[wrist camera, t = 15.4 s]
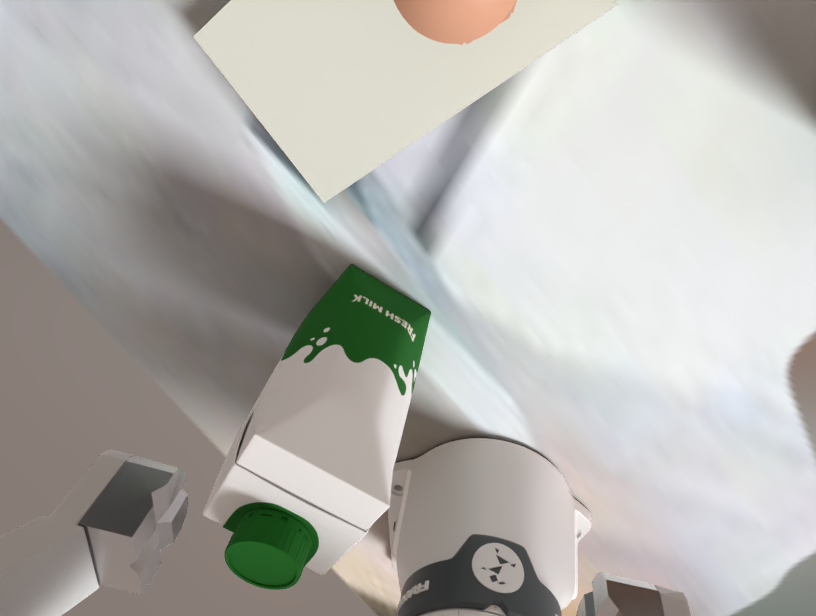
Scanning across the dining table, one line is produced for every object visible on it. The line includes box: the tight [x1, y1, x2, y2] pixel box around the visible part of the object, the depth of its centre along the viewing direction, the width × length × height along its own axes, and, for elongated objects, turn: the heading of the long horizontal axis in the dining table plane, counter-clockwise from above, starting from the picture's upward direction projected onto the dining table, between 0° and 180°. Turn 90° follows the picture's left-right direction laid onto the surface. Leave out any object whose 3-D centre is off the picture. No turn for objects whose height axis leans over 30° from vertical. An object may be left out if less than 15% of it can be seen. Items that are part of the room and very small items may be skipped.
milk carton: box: [203, 264, 431, 589], centre depth 36 cm, size 9×9×20 cm
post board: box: [193, 0, 618, 203], centre depth 30 cm, size 20×12×8 cm, turn 126°
